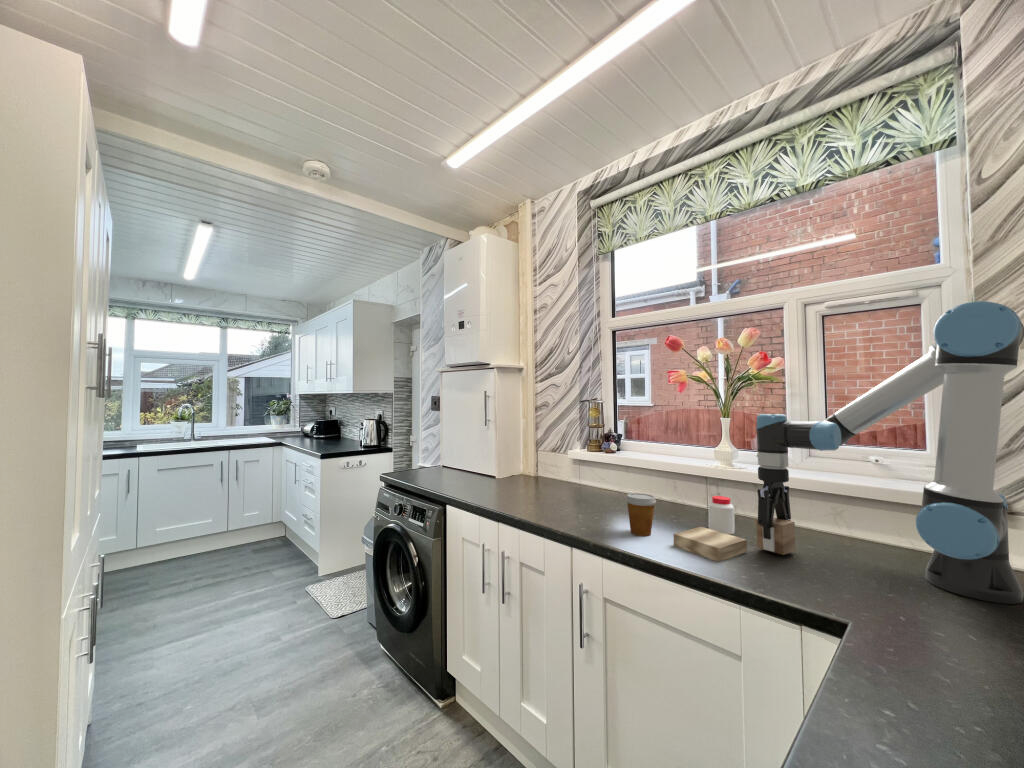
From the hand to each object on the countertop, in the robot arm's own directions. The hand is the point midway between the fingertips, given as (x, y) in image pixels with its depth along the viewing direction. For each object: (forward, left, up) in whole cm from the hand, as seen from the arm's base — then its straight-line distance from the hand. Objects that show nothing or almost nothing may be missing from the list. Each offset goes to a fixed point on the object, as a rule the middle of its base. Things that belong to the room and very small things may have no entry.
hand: (775, 547), depth 117 cm
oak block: (+12, +14, -2) cm, 18 cm away
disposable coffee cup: (+32, +20, -2) cm, 37 cm away
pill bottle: (+20, -6, -2) cm, 21 cm away
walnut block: (0, 0, 0) cm, 0 cm away
